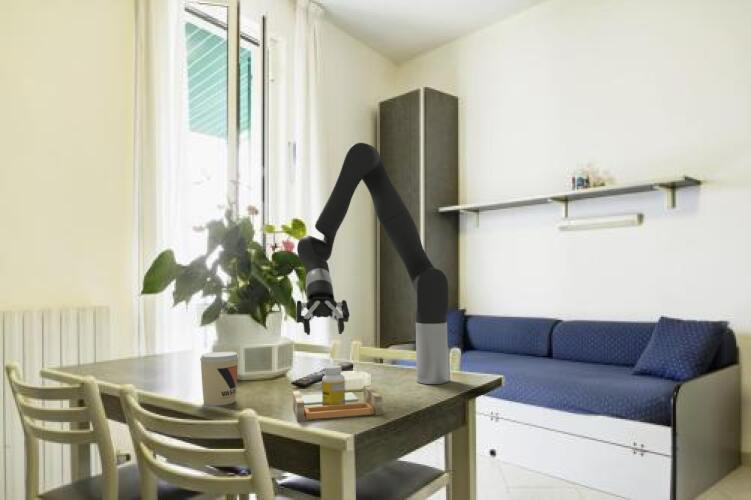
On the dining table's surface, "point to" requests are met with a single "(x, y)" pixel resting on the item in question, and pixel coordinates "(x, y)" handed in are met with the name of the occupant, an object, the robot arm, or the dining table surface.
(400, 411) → the dining table surface
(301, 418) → the tunnel walls
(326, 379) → the supplement bottle
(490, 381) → the dining table surface
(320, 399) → the mat
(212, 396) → the coffee cup
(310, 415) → the orange rectangular tray
